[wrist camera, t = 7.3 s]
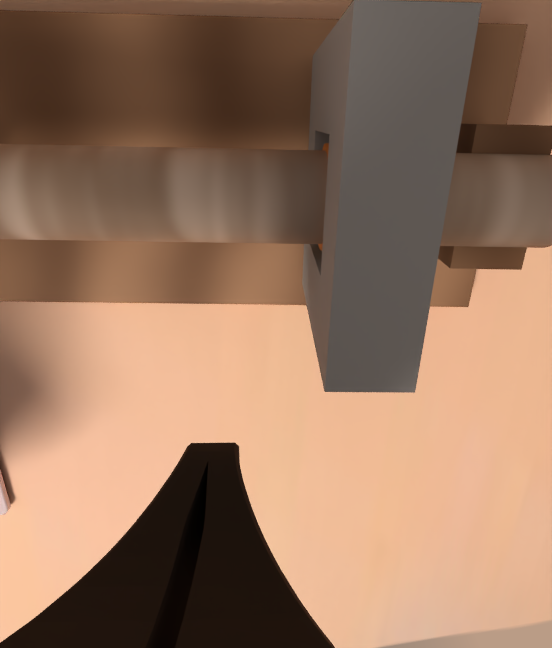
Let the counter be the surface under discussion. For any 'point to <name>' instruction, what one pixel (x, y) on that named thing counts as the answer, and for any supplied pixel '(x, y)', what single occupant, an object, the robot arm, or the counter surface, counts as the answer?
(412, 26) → the collar
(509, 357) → the counter surface
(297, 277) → the pipe stand
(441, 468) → the counter surface
